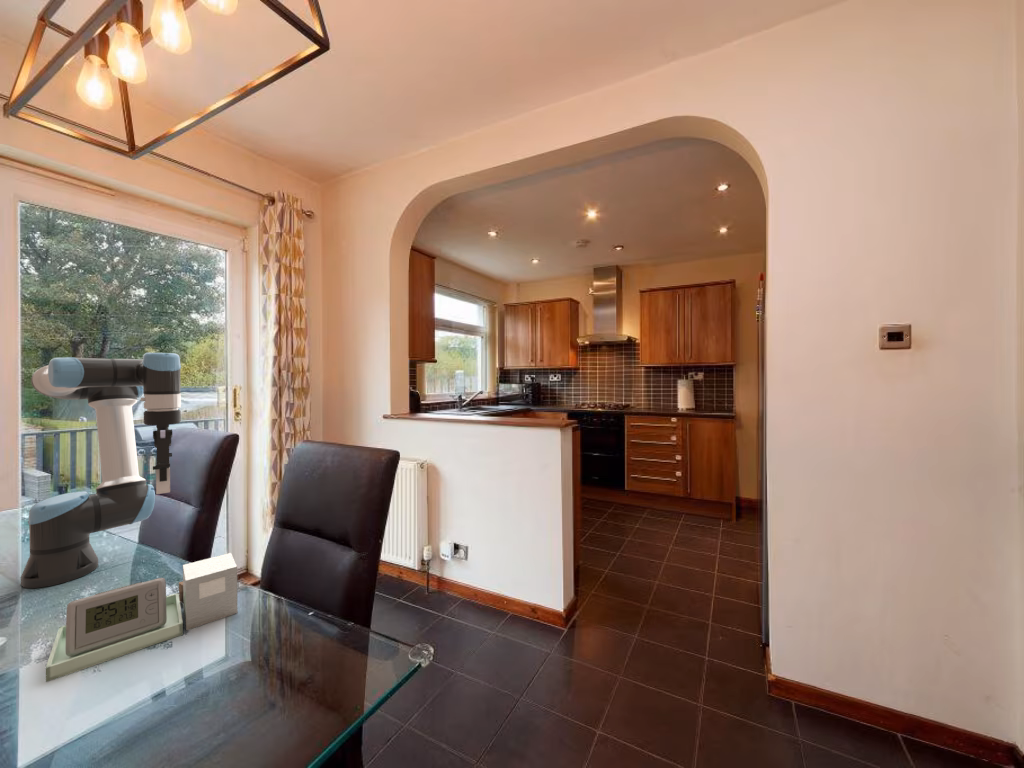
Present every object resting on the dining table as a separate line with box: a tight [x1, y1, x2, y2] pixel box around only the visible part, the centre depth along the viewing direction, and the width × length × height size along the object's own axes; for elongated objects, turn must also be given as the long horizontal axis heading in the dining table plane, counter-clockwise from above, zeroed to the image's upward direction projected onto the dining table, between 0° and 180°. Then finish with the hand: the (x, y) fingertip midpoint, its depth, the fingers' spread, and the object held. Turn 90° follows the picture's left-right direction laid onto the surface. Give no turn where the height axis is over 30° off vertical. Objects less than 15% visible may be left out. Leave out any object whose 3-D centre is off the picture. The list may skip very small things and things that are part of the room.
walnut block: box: [178, 580, 183, 604], centre depth 104 cm, size 5×5×5 cm
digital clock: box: [65, 577, 167, 656], centre depth 89 cm, size 16×9×11 cm, turn 122°
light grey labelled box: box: [182, 552, 239, 631], centre depth 99 cm, size 10×10×12 cm
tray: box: [44, 592, 184, 683], centre depth 89 cm, size 17×21×3 cm
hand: (163, 486), depth 106 cm, fingers open, 13 cm apart
